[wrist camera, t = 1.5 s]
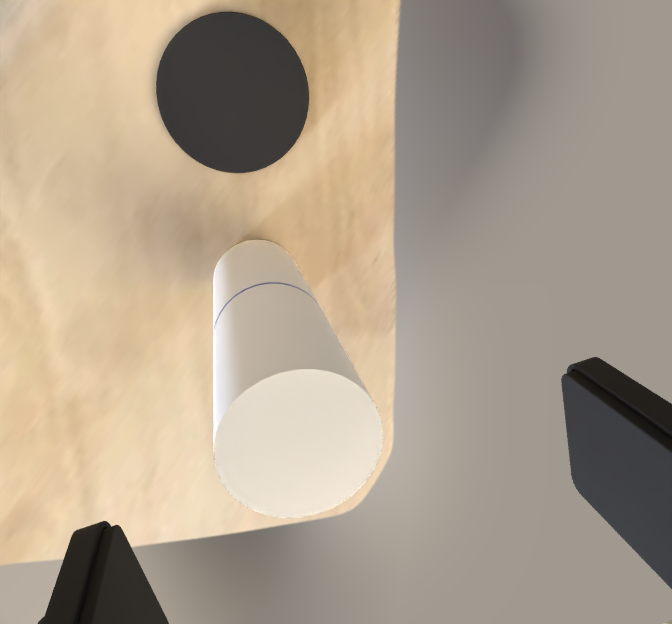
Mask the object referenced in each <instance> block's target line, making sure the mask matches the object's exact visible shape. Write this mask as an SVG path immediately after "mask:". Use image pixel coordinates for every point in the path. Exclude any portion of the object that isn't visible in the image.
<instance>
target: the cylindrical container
mask: <svg viewBox="0 0 672 624" xmlns="http://www.w3.org/2000/svg"><path fill="white" fill-rule="evenodd" d="M213 384H214V461H215V465H216V470H217V474H218V476H219V477H220V479H221V481H222V483H223V485H224V487H225V488H226V489H227V490H228V492H229V493H230V494H231V495H232V496H233V497H234V498H235V499H236V500H237V501H239V502H240V503H242V504H243V505H244V506H246V507H247V508H249V509H252V510H254V511H256V512H258V513H261V514H265V515H269V516H273V517H281V518H297V517H306V516H311V515H315V514H319V513H322V512H324V511H327V510H329V509H331V508H334V507H336V506H338V505H339V504H341V503H342V502H344V501H345V500H347V499H349V498H350V497H351V496H352V495H353V494H355V493H356V492H357V491H358V490H359V489H360V488H361V487H362V486H363V485H364V483H365V482H366V481H367V480H368V478H369V477H370V476H371V474H372V472H373V471H374V469H375V467H376V465H377V463H378V460H379V457H380V454H381V451H382V443H383V428H382V421H381V418H380V415H379V412H378V410H377V407H376V405H375V403H374V402H373V400H372V398H371V396H370V394H369V393H368V391H367V389H366V387H365V386H364V384H363V382H362V380H361V378H360V377H359V375H358V373H357V371H356V369H355V368H354V366H353V364H352V362H351V360H350V359H349V357H348V355H347V353H346V351H345V350H344V348H343V346H342V344H341V343H340V341H339V339H338V337H337V335H336V334H335V332H334V330H333V328H332V326H331V325H330V323H329V321H328V319H327V317H326V316H325V314H324V312H323V310H322V309H321V307H320V305H319V303H318V301H317V300H316V298H315V296H314V294H313V292H312V291H311V289H310V287H309V285H308V283H307V282H306V280H305V278H304V276H303V274H302V273H301V271H300V269H299V267H298V266H297V264H296V262H295V261H294V259H293V257H292V256H291V255H290V254H289V253H288V252H287V251H286V250H285V249H284V248H283V247H281V246H280V245H278V244H276V243H273V242H271V241H266V240H256V239H254V240H248V241H244V242H241V243H238V244H236V245H235V246H233V247H232V248H230V249H229V250H228V251H227V252H226V253H225V254H223V256H222V257H221V259H220V260H219V261H218V263H217V266H216V268H215V271H214V276H213Z"/></svg>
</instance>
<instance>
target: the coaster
mask: <svg viewBox="0 0 672 624" xmlns="http://www.w3.org/2000/svg"><path fill="white" fill-rule="evenodd" d="M156 94H157V101H158V106H159V110H160V114H161V117H162V119H163V122H164V124H165V126H166V128H167V130H168V132H169V133H170V135H171V136H172V138H173V139H174V140H175V142H176V143H177V144H178V145H179V146H180V147H181V148H182V150H183V151H185V152H186V153H187V154H188V155H189V156H190V157H192V158H193V159H195V160H196V161H198V162H199V163H201V164H203V165H205V166H207V167H210V168H213V169H216V170H219V171H224V172H230V173H245V172H251V171H256V170H259V169H262V168H265V167H267V166H269V165H271V164H273V163H274V162H276V161H277V160H279V159H280V158H281V157H283V156H284V155H285V154H286V153H287V152H288V151H289V150H290V149H291V147H292V146H293V145H294V144H295V142H296V140H297V139H298V137H299V136H300V134H301V131H302V129H303V127H304V124H305V121H306V117H307V112H308V105H309V90H308V83H307V77H306V74H305V71H304V68H303V65H302V63H301V61H300V58H299V57H298V55H297V53H296V51H295V50H294V48H293V47H292V46H291V44H290V43H289V42H288V40H287V39H286V38H285V37H284V36H283V35H282V34H281V33H280V32H279V31H277V30H276V29H275V28H273V27H272V26H271V25H269V24H267V23H266V22H264V21H262V20H260V19H258V18H256V17H253V16H250V15H247V14H243V13H236V12H219V13H213V14H209V15H206V16H202V17H200V18H198V19H196V20H194V21H192V22H191V23H189V24H188V25H186V26H185V27H183V28H182V29H181V30H180V31H179V32H178V33H177V34H176V35H175V36H174V38H173V39H172V40H171V41H170V43H169V44H168V46H167V48H166V50H165V51H164V54H163V56H162V58H161V61H160V64H159V68H158V72H157V81H156Z"/></svg>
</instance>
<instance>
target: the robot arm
mask: <svg viewBox="0 0 672 624" xmlns="http://www.w3.org/2000/svg"><path fill="white" fill-rule="evenodd" d="M561 380H562V381H561V382H562V392H563V401H564V410H565V419H566V428H567V438H568V447H569V457H570V465H571V475H572V479H573V482H574V484H575V487H576V489H577V490H578V492H579V493H580V494H581V495H582V496H583V497H584V498H585V499H586V500H587V501H588V503H590V505H591V506H592V507H593V508H594V509H595V510H596V511H597V512H598V513H599V514H600V515H601V516H602V517H603V518H604V519H605V520H606V521H607V522H608V523H609V524H610V525H611V526H612V527H613V528H614V530H615V531H617V533H618V534H619V535H620V536H621V537H622V538H623V539H624V540H625V541H626V542H627V543H628V544H629V545H630V546H631V547H632V548H633V549H634V550H635V551H636V552H637V553H638V554H639V556H640V557H641V558H642V559H643V560H644V561H645V562H646V563H647V564H648V565H649V566H650V567H651V568H652V569H653V570H654V571H655V572H656V573H657V574H658V575H659V576H660V577H661V578H662V579H663V580H664V582H666V584H667V585H668V586H669V587H670V588H671V589H672V404H671V403H669V402H668V401H666V400H664V399H663V398H661V397H660V396H658V395H657V394H655V393H653V392H652V391H650V390H649V389H647V388H646V387H644V386H642V385H641V384H639V383H638V382H636V381H634V380H633V379H631V378H630V377H628V376H626V375H625V374H624V373H622V372H620V371H619V370H617V369H616V368H614V367H613V366H611V365H609V364H608V363H606V362H605V361H603V360H601V359H600V358H597V357H593V358H590V359H587V360H584V361H581V362H578V363H575V364H572V365H570V366H569V367H568V369H567V374H564V375H563V376H562V379H561ZM38 624H169V623H168V621H167V618H166V616H165V614H164V612H163V610H162V608H161V606H160V604H159V602H158V600H157V598H156V596H155V594H154V592H153V590H152V588H151V586H150V584H149V582H148V581H147V578H146V576H145V574H144V572H143V570H142V568H141V566H140V564H139V562H138V560H137V558H136V556H135V554H134V552H133V551H132V548H131V546H130V544H129V542H128V540H127V538H126V536H125V534H124V532H123V530H122V529H121V527H120V526H119V525H115V526H112V527H111V525H110V524H109V523H108V522H107V521H103V522H100V523H97V524H94V525H91V526H88V527H85V528H82V529H79V530H76V531H75V532H74V533H73V535H72V537H71V540H70V543H69V546H68V549H67V551H66V554H65V557H64V560H63V564H62V566H61V570H60V572H59V575H58V578H57V581H56V584H55V587H54V590H53V593H52V596H51V599H50V602H49V605H48V608H47V611H46V614H45V617H43V618H42V619H41V620H40V621H39V622H38ZM664 624H672V621H669V622H666V623H664Z"/></svg>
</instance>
